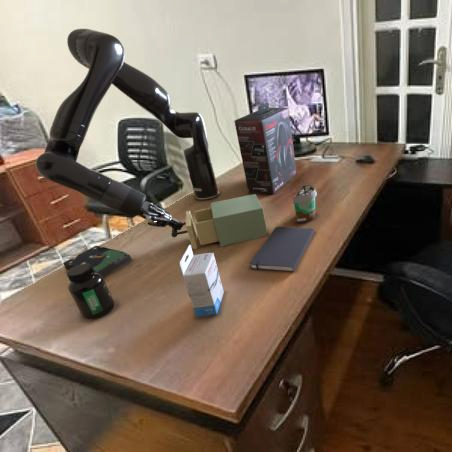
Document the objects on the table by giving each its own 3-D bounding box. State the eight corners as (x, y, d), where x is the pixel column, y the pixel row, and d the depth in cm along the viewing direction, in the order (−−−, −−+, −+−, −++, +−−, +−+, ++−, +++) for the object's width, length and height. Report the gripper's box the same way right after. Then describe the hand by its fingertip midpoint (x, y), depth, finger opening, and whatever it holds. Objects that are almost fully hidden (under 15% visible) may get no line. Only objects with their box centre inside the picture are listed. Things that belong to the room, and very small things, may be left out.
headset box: (274, 195, 140) (260, 109, 124) (246, 193, 144) (230, 110, 128) (297, 174, 160) (288, 98, 145) (273, 173, 164) (261, 98, 148)
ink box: (217, 315, 79) (201, 261, 72) (195, 318, 79) (177, 264, 72) (224, 292, 87) (211, 241, 80) (204, 294, 87) (189, 243, 80)
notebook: (293, 271, 92) (314, 232, 111) (293, 267, 92) (313, 228, 110) (249, 268, 95) (276, 230, 113) (248, 263, 94) (276, 226, 113)
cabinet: (220, 246, 107) (213, 218, 102) (217, 228, 117) (210, 202, 113) (267, 235, 111) (262, 208, 107) (260, 219, 122) (255, 193, 117)
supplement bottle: (107, 318, 81) (86, 276, 75) (76, 322, 81) (53, 280, 75) (120, 299, 87) (102, 259, 81) (92, 302, 87) (72, 262, 81)
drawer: (175, 253, 103) (168, 230, 100) (176, 236, 113) (169, 214, 109) (238, 238, 109) (233, 216, 105) (233, 223, 118) (229, 202, 114)
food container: (314, 225, 115) (311, 197, 110) (296, 225, 116) (292, 197, 111) (322, 209, 125) (320, 183, 121) (305, 209, 127) (303, 183, 122)
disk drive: (65, 271, 100) (100, 280, 95) (61, 263, 99) (96, 271, 94) (99, 252, 109) (132, 259, 103) (95, 244, 107) (129, 251, 102)
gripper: (126, 196, 91) (188, 226, 100) (132, 180, 102) (188, 209, 111) (111, 218, 92) (174, 246, 101) (119, 200, 103) (175, 227, 112)
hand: (181, 226), depth 106 cm, fingers closed
